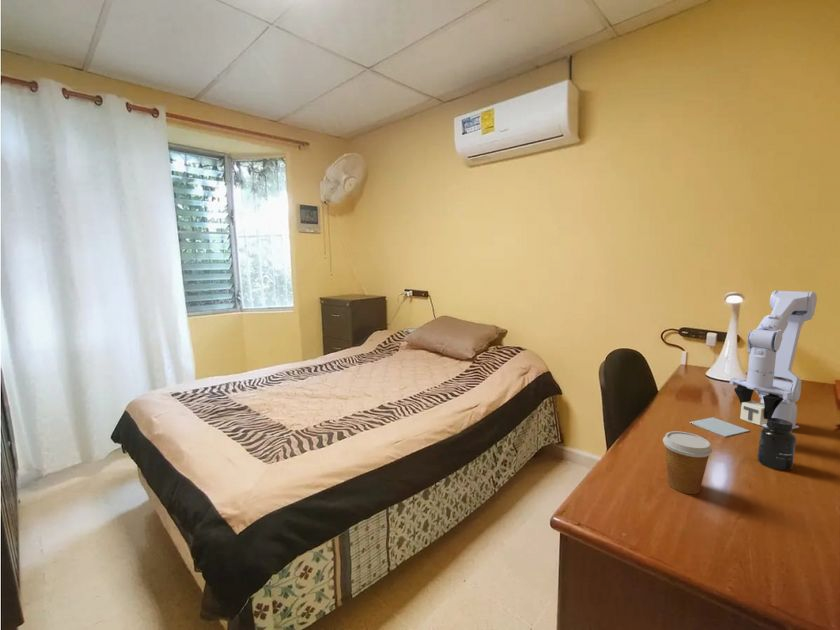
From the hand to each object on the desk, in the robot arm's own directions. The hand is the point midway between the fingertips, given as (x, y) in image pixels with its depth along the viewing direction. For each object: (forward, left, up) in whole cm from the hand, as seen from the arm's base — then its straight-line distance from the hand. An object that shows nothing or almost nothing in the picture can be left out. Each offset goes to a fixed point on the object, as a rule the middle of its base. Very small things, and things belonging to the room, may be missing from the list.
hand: (756, 414), depth 111 cm
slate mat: (0, -10, -8) cm, 13 cm away
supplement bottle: (+10, +11, -8) cm, 17 cm away
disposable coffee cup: (+42, +10, -8) cm, 44 cm away
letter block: (0, 0, -2) cm, 2 cm away
